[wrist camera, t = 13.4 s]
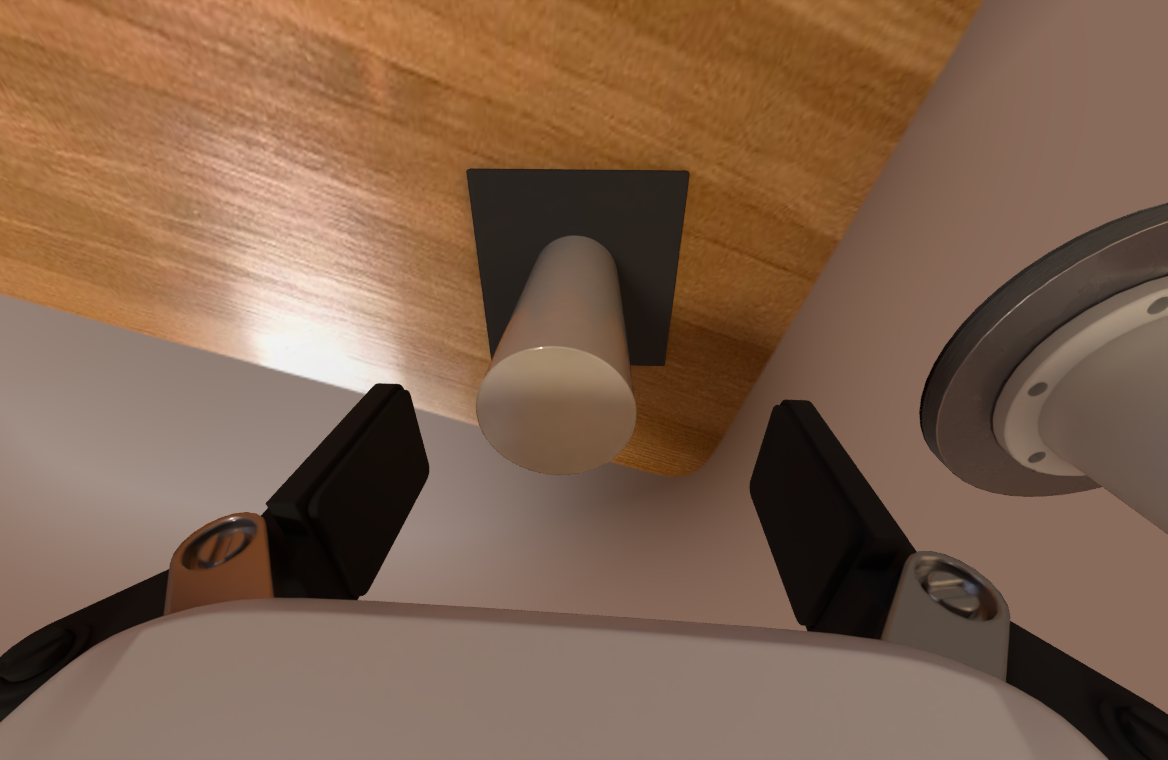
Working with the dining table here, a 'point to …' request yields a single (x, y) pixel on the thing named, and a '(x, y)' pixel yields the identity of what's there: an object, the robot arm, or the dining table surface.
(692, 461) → the dining table surface
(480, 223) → the mat
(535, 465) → the cylinder
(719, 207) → the dining table surface
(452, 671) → the robot arm
